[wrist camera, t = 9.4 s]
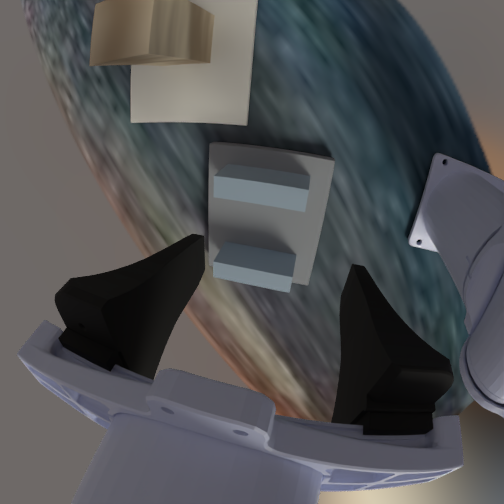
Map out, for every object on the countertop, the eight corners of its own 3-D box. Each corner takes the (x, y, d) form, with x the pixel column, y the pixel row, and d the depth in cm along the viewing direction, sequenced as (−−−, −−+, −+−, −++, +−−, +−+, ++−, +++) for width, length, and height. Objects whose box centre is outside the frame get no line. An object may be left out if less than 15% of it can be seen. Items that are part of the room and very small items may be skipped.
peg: (214, 15, 14) (156, -16, 7) (210, 63, 16) (148, 53, 10) (165, 21, 14) (95, 4, 8) (162, 66, 17) (89, 66, 10)
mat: (261, -39, 11) (260, -41, 10) (247, 125, 19) (246, 125, 18) (143, -21, 12) (140, -22, 12) (133, 122, 20) (130, 122, 20)
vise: (334, 157, 18) (337, 173, 15) (308, 278, 25) (305, 309, 21) (214, 141, 20) (192, 153, 17) (212, 259, 26) (196, 286, 23)
